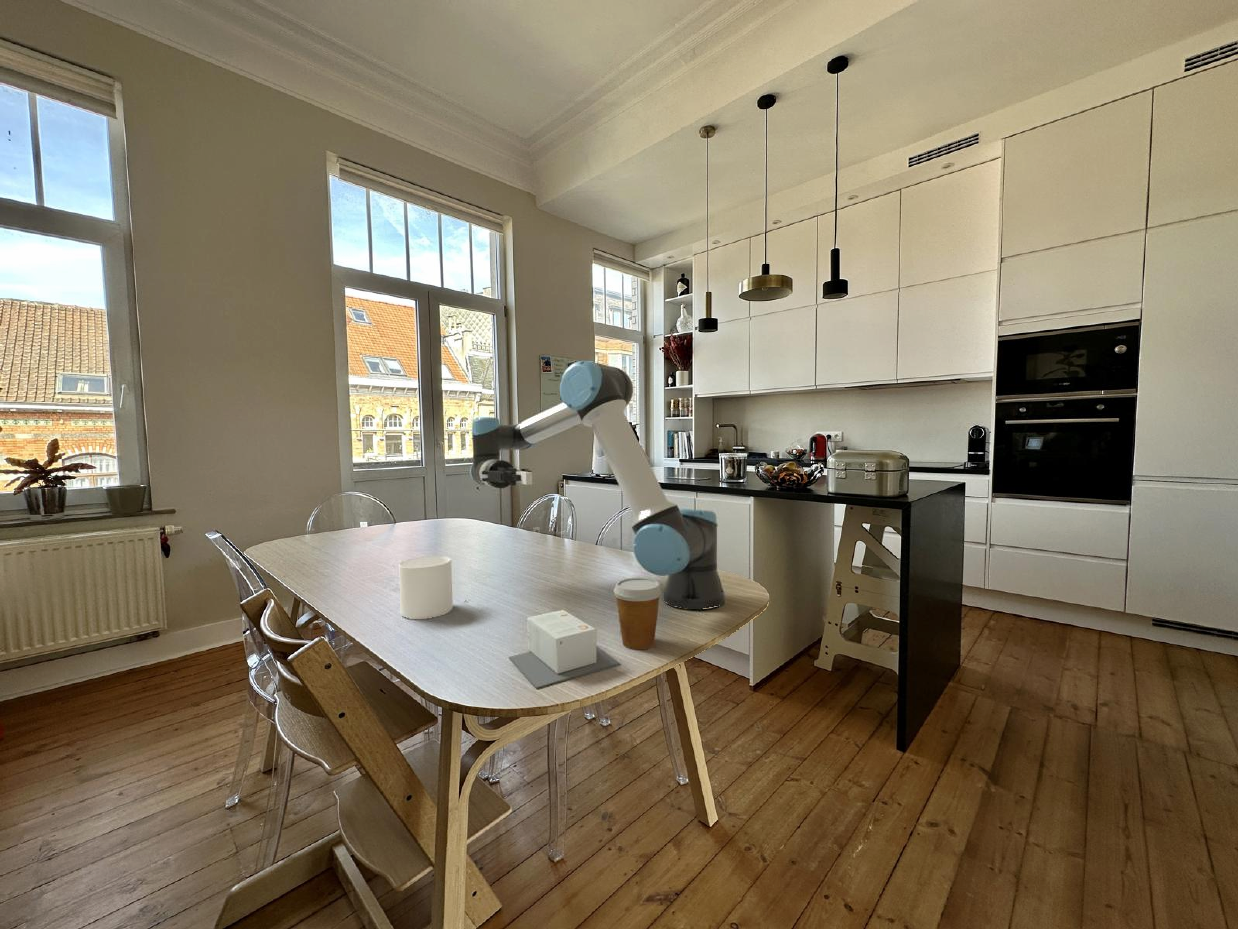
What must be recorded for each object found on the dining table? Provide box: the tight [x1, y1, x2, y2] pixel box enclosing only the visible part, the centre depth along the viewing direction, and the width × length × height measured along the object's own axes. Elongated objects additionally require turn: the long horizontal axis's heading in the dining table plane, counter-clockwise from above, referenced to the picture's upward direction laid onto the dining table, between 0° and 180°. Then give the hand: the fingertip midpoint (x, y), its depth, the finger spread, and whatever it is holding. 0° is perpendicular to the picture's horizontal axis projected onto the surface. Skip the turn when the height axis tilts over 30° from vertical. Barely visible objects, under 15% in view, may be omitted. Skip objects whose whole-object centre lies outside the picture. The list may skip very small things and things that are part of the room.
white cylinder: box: [398, 555, 454, 620], centre depth 118 cm, size 12×12×12 cm
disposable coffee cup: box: [613, 577, 663, 650], centre depth 97 cm, size 10×10×12 cm
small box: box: [526, 609, 597, 674], centre depth 91 cm, size 8×6×13 cm
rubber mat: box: [508, 645, 621, 690], centre depth 89 cm, size 16×14×1 cm
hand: (529, 478), depth 112 cm, fingers closed
